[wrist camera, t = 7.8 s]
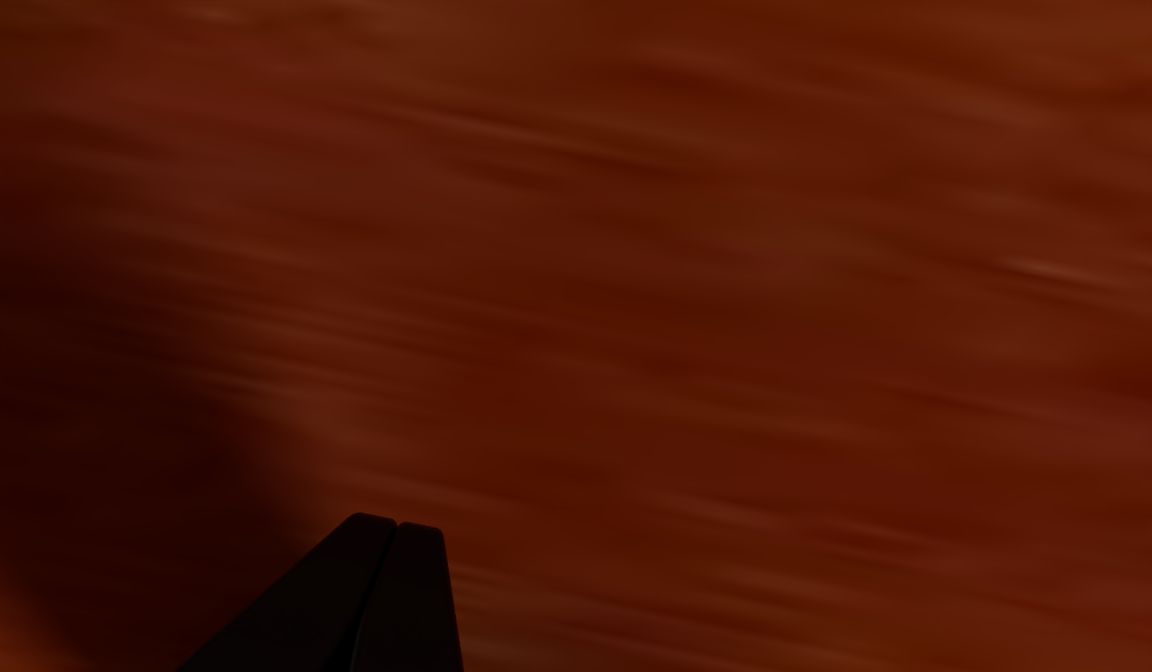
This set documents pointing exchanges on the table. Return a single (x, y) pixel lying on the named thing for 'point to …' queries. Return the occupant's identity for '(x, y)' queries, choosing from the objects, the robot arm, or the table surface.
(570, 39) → the table surface
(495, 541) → the table surface
